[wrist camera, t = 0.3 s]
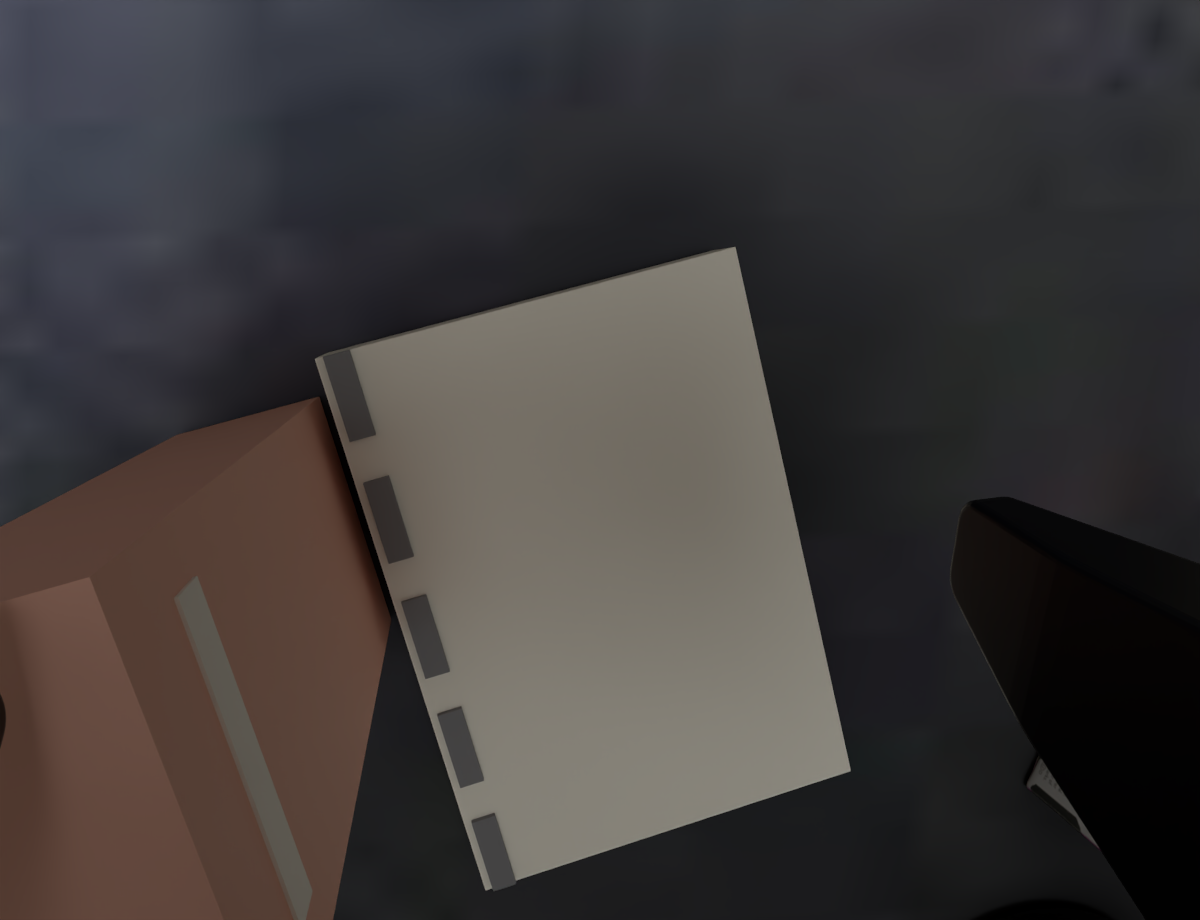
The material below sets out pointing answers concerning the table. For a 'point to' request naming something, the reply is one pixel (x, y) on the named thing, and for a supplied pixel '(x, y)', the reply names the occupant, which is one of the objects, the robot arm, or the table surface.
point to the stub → (189, 681)
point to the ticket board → (593, 560)
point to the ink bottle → (1053, 915)
